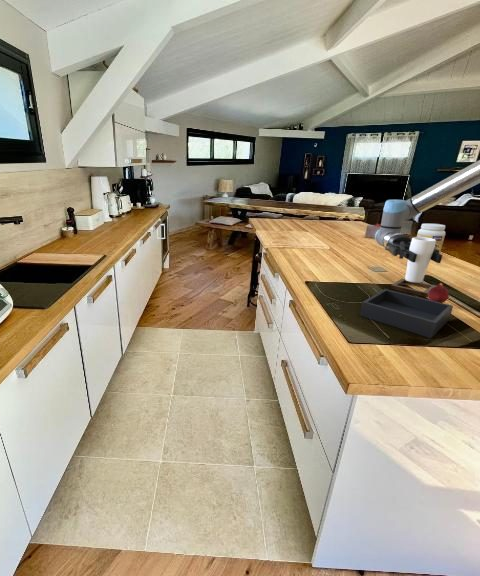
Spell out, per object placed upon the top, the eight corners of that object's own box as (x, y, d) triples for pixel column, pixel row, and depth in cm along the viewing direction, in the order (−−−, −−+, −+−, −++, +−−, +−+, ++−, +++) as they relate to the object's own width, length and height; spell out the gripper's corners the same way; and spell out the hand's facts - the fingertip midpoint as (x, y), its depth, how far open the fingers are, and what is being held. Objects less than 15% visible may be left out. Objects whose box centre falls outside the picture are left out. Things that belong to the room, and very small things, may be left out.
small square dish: (436, 289, 125) (437, 285, 125) (426, 297, 118) (427, 293, 117) (401, 281, 134) (402, 278, 134) (390, 288, 127) (390, 284, 126)
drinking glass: (400, 276, 114) (410, 236, 109) (423, 279, 111) (434, 237, 106) (403, 282, 109) (413, 240, 103) (426, 285, 106) (438, 241, 101)
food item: (386, 237, 218) (389, 223, 215) (386, 239, 212) (389, 225, 208) (364, 235, 225) (367, 222, 221) (364, 237, 218) (366, 223, 215)
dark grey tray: (449, 320, 100) (453, 305, 98) (431, 338, 90) (436, 323, 88) (381, 301, 115) (384, 288, 113) (359, 315, 104) (362, 301, 102)
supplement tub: (430, 259, 165) (438, 227, 159) (407, 254, 176) (414, 224, 170) (444, 256, 170) (453, 225, 164) (421, 251, 181) (428, 222, 175)
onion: (449, 308, 108) (455, 286, 106) (430, 307, 109) (436, 285, 107) (439, 301, 114) (446, 281, 111) (422, 300, 115) (428, 280, 112)
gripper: (423, 253, 123) (458, 271, 102) (369, 251, 126) (391, 268, 105) (428, 234, 120) (465, 248, 99) (372, 233, 124) (396, 246, 102)
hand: (427, 258), depth 102 cm, fingers closed on drinking glass, 7 cm apart
